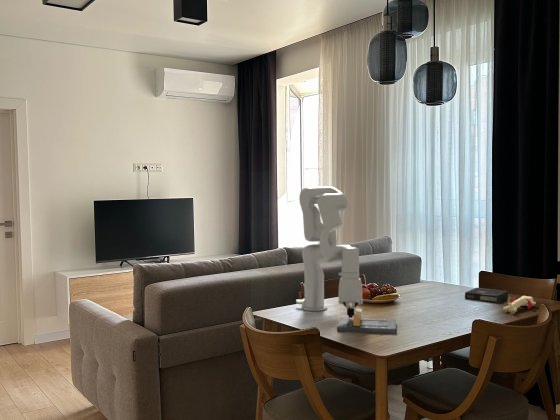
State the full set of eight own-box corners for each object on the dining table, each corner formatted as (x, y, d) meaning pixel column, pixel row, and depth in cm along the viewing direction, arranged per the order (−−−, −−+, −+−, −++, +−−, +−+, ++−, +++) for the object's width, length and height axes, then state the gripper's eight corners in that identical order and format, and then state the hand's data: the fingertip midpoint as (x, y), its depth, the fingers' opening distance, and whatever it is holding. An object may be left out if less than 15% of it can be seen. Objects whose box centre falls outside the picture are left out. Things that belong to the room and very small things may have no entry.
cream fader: (355, 320, 242) (355, 311, 241) (356, 318, 246) (356, 308, 246) (361, 320, 241) (361, 311, 241) (361, 318, 246) (361, 308, 245)
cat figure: (518, 318, 257) (540, 304, 274) (518, 299, 256) (539, 287, 273) (497, 314, 264) (519, 301, 281) (497, 296, 263) (519, 285, 280)
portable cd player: (464, 300, 292) (464, 292, 292) (476, 294, 305) (476, 287, 305) (496, 304, 282) (496, 296, 282) (507, 298, 295) (507, 291, 295)
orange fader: (353, 325, 233) (353, 316, 233) (354, 323, 237) (354, 313, 237) (359, 326, 232) (359, 316, 232) (360, 323, 237) (360, 313, 237)
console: (337, 331, 233) (337, 326, 233) (340, 321, 249) (340, 317, 249) (395, 333, 228) (395, 328, 228) (395, 323, 244) (395, 319, 244)
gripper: (332, 276, 241) (332, 318, 242) (367, 277, 238) (367, 319, 239) (334, 273, 248) (334, 314, 249) (368, 274, 245) (368, 315, 246)
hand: (350, 317), depth 244 cm, fingers closed
